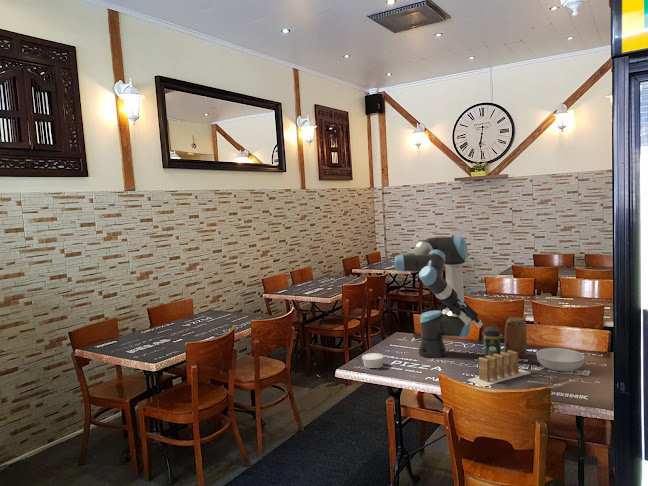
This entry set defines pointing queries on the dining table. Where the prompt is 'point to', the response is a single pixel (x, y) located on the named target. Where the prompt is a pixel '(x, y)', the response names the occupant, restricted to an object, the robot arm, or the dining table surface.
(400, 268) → the robot arm
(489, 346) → the coffee jar
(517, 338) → the block
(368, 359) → the ramekin
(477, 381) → the domino board
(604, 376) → the dining table surface
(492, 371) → the domino
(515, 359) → the domino
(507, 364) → the domino
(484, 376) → the domino
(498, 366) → the domino
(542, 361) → the serving bowl
